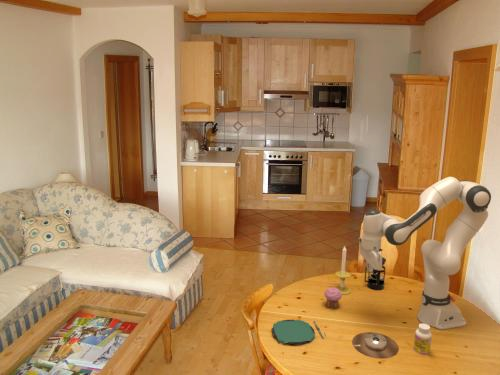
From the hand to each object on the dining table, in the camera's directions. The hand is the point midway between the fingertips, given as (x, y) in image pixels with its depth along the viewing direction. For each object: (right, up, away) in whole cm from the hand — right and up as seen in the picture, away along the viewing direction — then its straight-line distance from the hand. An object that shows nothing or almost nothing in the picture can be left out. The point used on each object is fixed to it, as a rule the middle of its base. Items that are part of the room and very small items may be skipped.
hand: (369, 270), depth 220 cm
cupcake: (-15, -22, +18) cm, 32 cm away
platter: (-3, -31, -18) cm, 36 cm away
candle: (-7, -18, +35) cm, 40 cm away
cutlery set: (-33, -29, -7) cm, 44 cm away
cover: (-3, -30, -19) cm, 35 cm away
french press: (+13, -17, +40) cm, 45 cm away
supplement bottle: (+17, -32, -21) cm, 42 cm away
